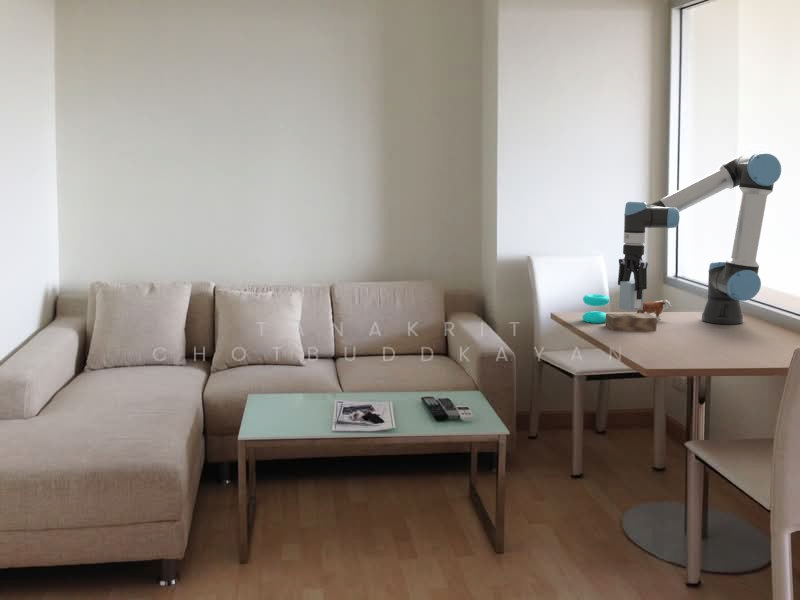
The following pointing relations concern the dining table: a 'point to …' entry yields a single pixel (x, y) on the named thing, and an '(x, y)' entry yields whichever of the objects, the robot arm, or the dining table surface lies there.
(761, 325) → the dining table surface
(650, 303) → the bull figurine
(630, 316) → the plinth
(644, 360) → the dining table surface
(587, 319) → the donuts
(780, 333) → the dining table surface
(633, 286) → the column
